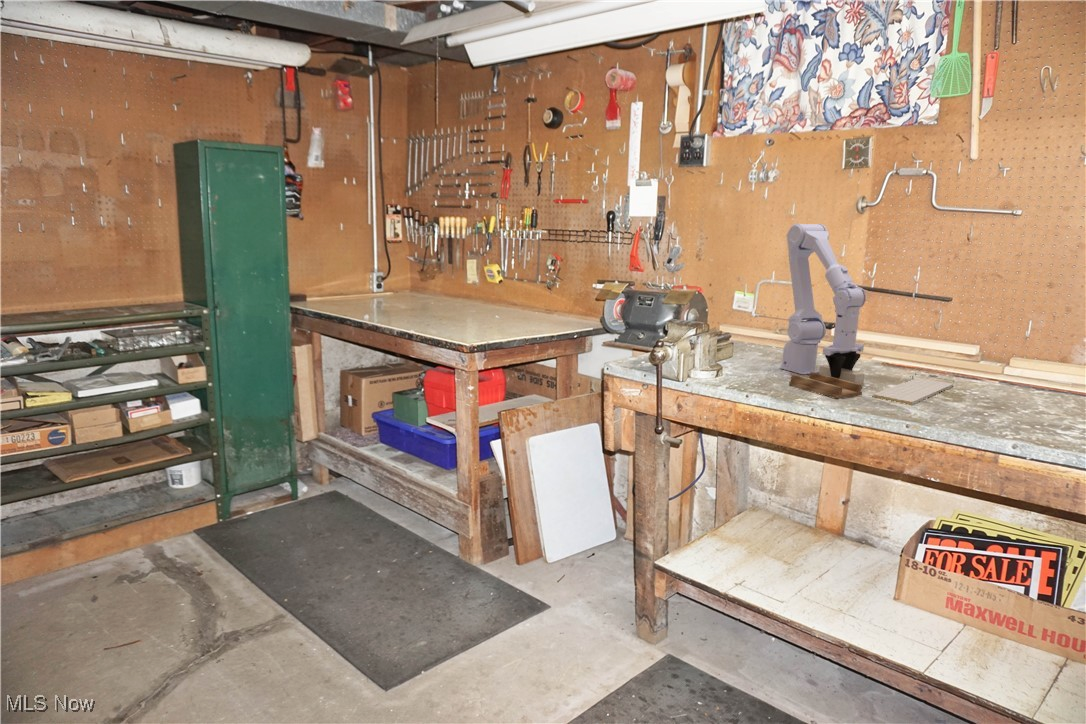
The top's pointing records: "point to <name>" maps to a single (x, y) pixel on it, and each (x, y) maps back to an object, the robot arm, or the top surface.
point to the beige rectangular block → (844, 374)
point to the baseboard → (913, 390)
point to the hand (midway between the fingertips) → (840, 378)
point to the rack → (826, 385)
